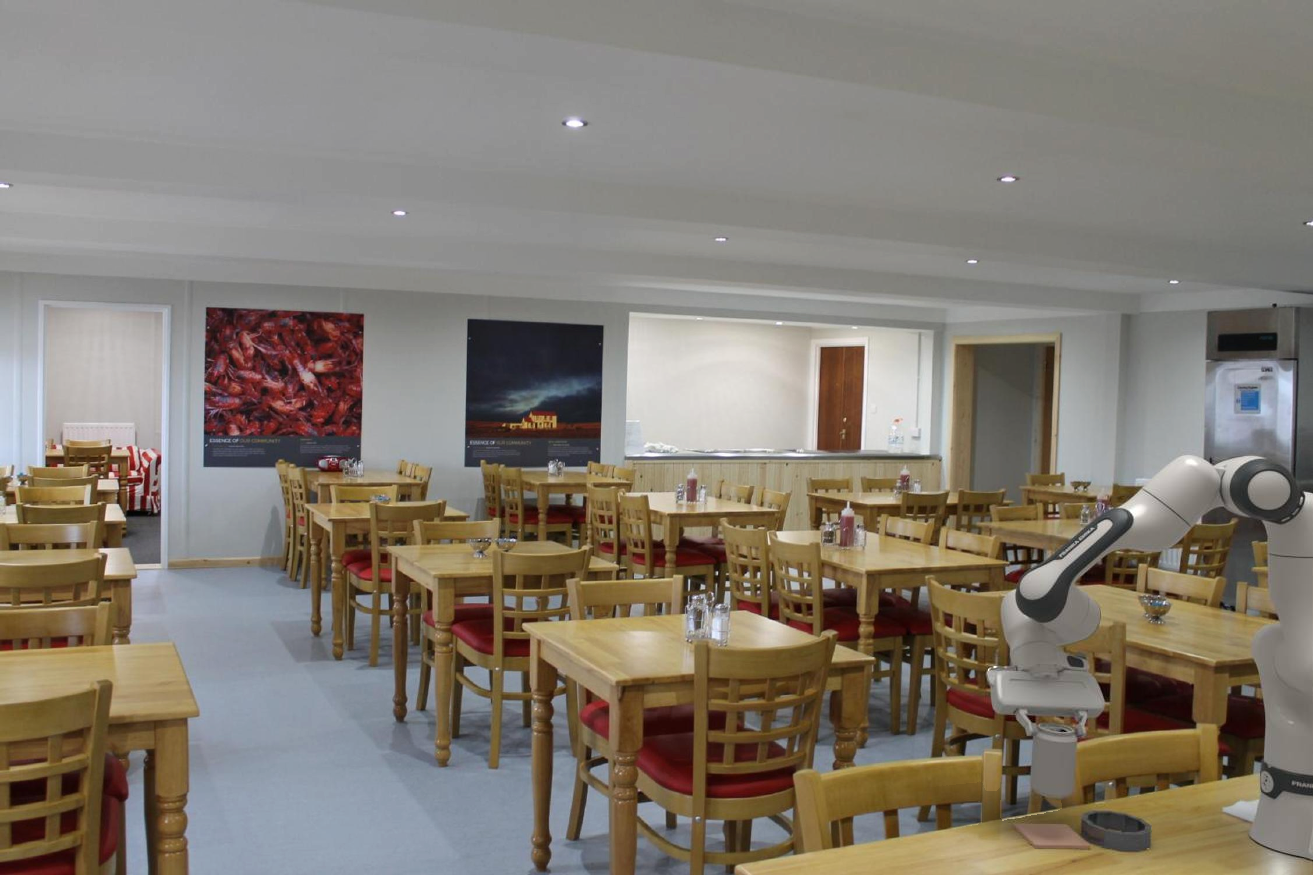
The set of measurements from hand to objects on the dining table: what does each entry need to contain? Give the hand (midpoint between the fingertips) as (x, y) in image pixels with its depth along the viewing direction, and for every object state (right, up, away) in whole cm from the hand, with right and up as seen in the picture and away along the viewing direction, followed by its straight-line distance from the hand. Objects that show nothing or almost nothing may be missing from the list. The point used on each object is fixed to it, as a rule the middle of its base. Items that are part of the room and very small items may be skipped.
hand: (1056, 735), depth 201 cm
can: (-1, -11, +1) cm, 11 cm away
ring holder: (+11, -19, +2) cm, 22 cm away
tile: (-1, -19, +1) cm, 19 cm away
